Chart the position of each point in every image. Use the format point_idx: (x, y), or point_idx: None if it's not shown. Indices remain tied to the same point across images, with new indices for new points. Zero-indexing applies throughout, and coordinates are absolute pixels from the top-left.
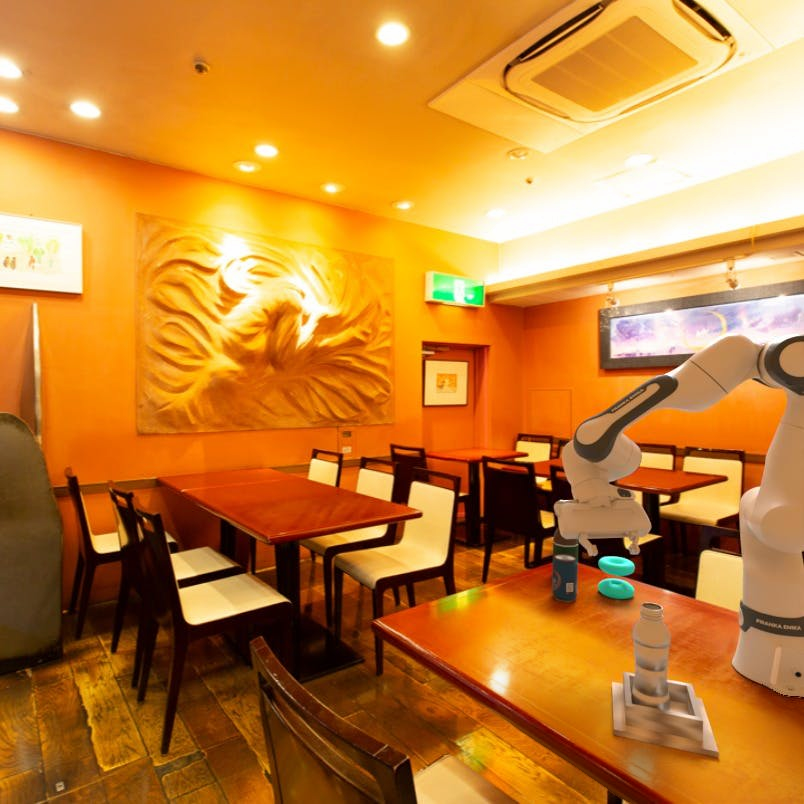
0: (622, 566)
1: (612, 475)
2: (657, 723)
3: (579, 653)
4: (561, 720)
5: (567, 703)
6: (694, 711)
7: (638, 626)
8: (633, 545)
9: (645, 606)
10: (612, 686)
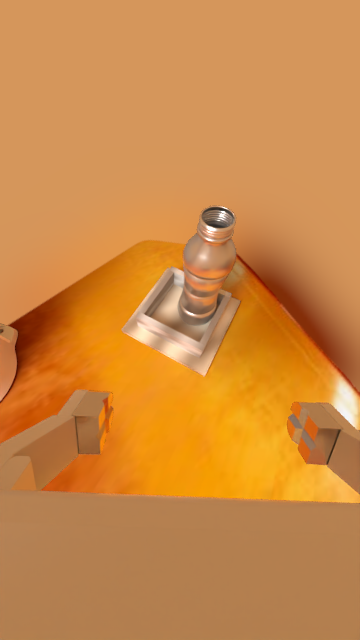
0: None
1: None
2: None
3: (211, 479)
4: (281, 328)
5: (268, 352)
6: (169, 277)
7: (233, 245)
8: (91, 407)
9: (220, 233)
10: (209, 365)
